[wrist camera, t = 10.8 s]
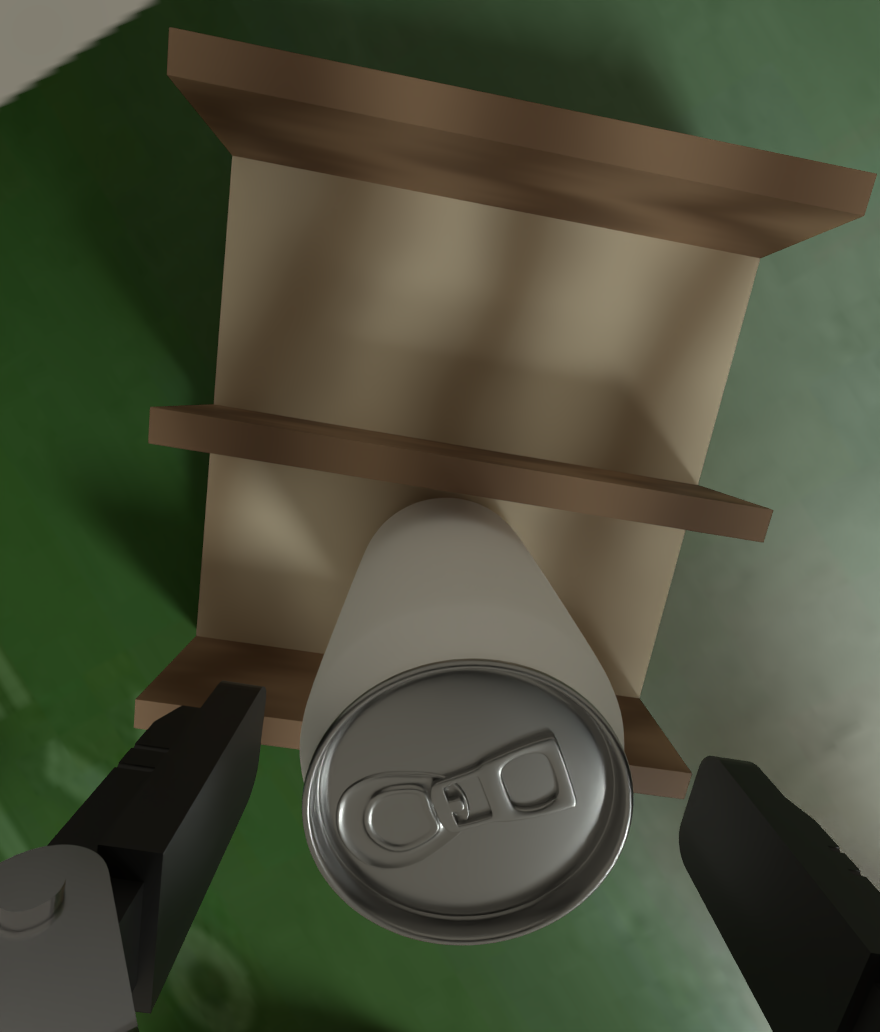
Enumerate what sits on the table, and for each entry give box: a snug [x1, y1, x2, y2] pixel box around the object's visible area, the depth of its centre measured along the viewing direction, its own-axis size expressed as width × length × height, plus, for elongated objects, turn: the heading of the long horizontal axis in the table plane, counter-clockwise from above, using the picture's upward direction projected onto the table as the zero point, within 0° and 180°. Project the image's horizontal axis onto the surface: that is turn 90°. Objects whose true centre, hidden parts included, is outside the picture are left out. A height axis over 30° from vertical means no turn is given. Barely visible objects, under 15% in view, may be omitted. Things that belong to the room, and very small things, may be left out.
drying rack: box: [134, 27, 877, 799], centre depth 18 cm, size 18×19×6 cm
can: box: [300, 498, 633, 945], centre depth 15 cm, size 6×6×12 cm
